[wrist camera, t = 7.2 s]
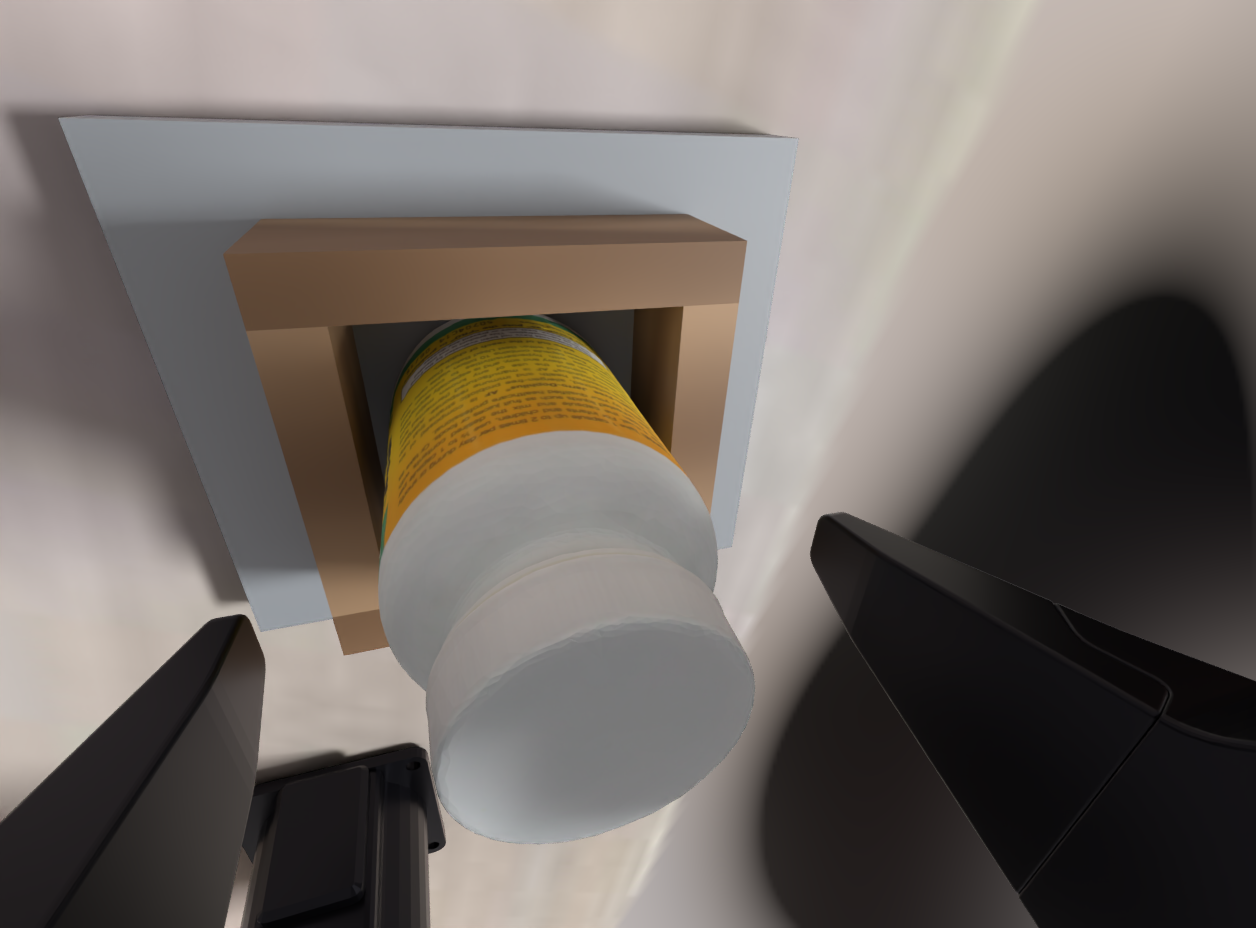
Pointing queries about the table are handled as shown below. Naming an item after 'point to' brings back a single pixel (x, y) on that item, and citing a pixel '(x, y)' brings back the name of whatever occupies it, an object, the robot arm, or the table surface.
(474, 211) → the board
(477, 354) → the supplement bottle
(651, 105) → the table surface
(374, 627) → the collar
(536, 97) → the table surface
